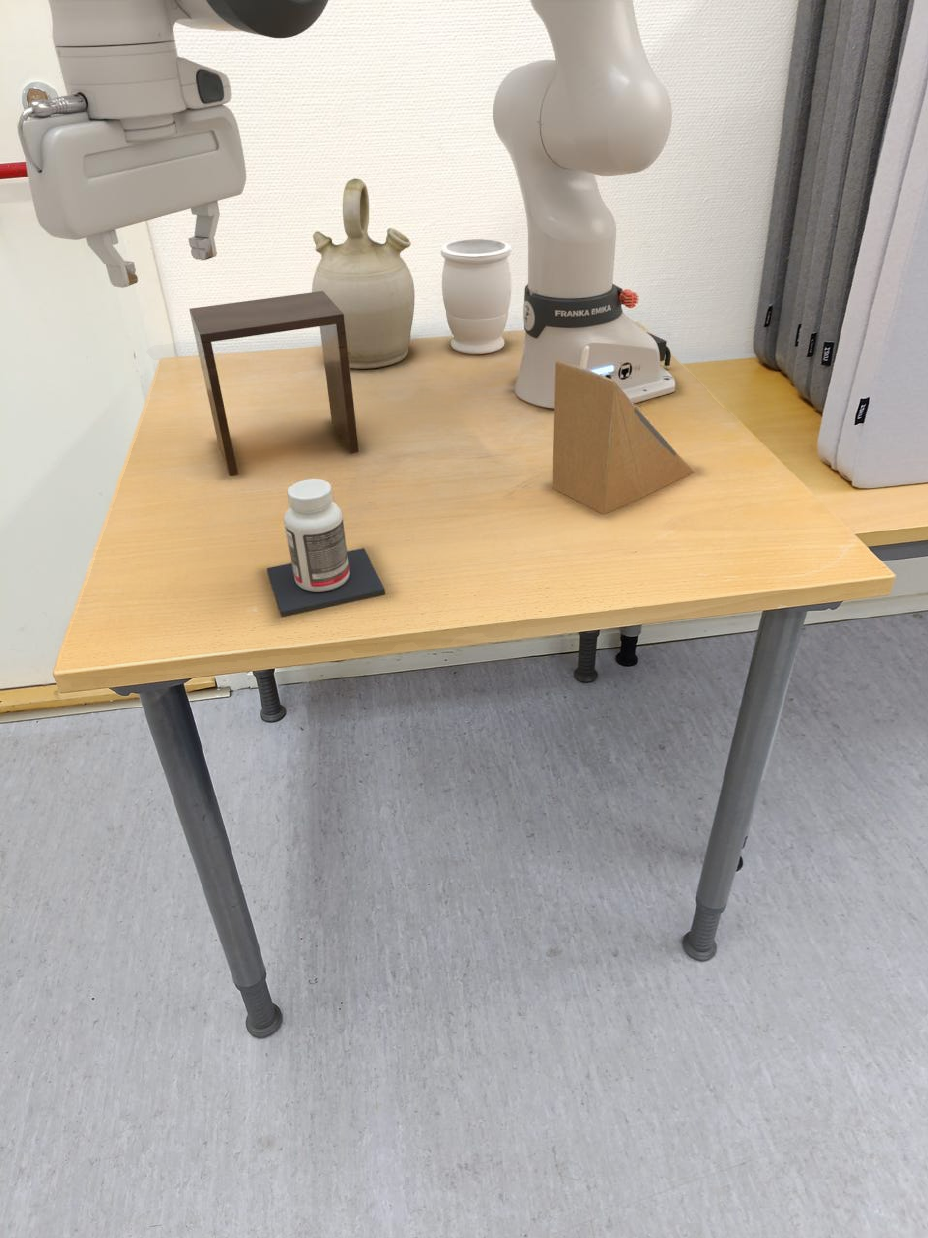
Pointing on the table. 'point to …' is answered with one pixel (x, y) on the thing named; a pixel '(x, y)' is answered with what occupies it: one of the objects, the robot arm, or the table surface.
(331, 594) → the pad
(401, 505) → the table surface
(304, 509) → the pill bottle
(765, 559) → the table surface
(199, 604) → the table surface
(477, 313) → the jar
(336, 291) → the jug
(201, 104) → the robot arm
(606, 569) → the table surface
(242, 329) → the arch
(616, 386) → the sandwich container
